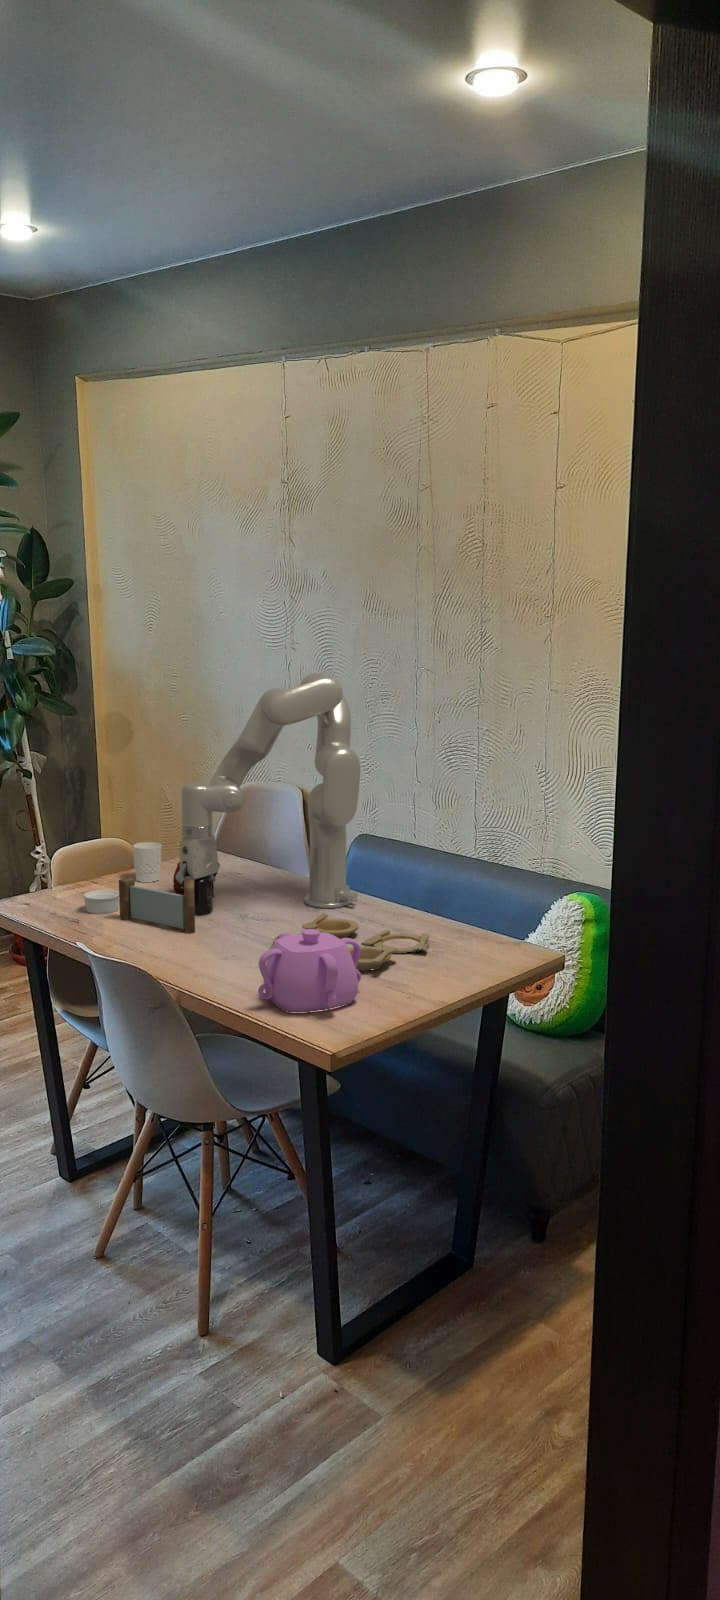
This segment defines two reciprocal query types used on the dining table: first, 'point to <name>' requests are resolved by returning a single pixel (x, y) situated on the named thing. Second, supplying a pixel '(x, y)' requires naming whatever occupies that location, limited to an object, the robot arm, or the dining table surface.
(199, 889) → the supplement bottle
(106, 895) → the ramekin
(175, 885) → the red clay folk toy
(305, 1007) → the purple lidded pot
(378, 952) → the tableware set
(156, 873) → the white cup
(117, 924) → the dining table surface
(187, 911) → the door frame
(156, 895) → the door
